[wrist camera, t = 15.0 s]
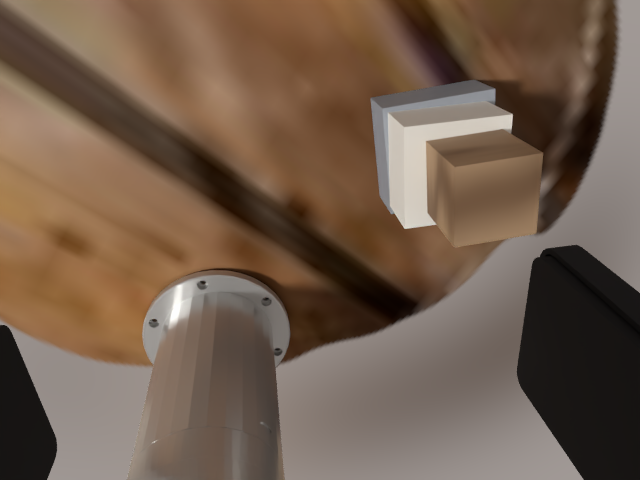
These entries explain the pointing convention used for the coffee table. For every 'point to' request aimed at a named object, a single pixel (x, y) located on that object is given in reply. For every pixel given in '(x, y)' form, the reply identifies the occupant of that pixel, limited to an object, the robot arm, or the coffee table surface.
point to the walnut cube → (483, 186)
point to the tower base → (417, 100)
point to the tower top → (410, 149)
